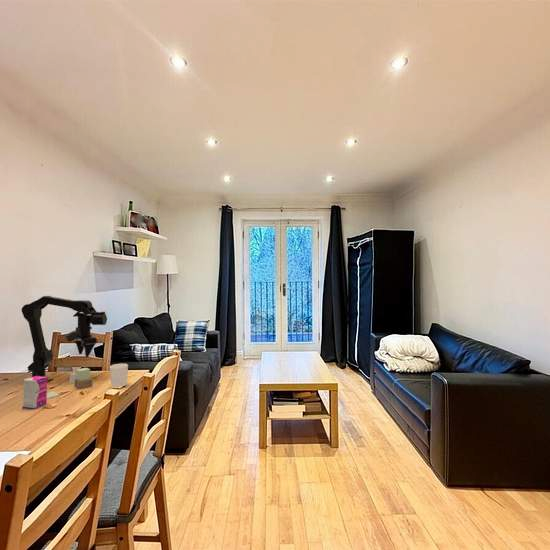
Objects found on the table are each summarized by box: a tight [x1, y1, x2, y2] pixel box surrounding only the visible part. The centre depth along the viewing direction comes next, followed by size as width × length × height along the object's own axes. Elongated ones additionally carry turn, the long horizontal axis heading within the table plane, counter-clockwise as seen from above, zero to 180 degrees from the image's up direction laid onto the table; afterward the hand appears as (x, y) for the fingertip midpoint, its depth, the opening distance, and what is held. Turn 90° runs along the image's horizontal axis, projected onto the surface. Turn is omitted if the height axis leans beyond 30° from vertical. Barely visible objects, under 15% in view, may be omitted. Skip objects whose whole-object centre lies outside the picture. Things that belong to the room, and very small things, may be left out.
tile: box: [47, 391, 61, 400], centre depth 145 cm, size 7×7×1 cm
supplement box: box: [22, 376, 48, 410], centre depth 134 cm, size 6×6×12 cm
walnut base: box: [74, 377, 93, 391], centre depth 158 cm, size 6×6×4 cm
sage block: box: [75, 367, 91, 381], centre depth 158 cm, size 4×4×4 cm
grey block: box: [69, 371, 76, 384], centre depth 165 cm, size 4×4×4 cm
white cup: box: [109, 363, 129, 387], centre depth 158 cm, size 8×8×10 cm
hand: (83, 355), depth 169 cm, fingers open, 9 cm apart
